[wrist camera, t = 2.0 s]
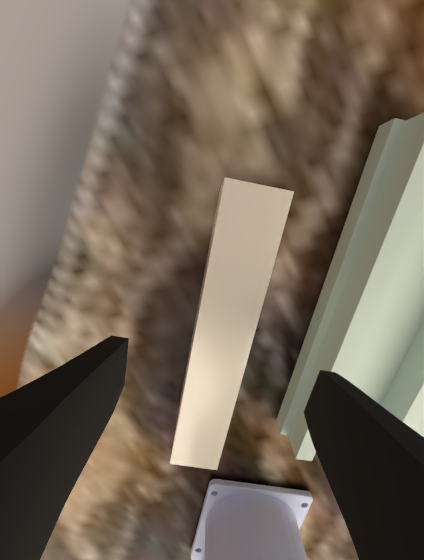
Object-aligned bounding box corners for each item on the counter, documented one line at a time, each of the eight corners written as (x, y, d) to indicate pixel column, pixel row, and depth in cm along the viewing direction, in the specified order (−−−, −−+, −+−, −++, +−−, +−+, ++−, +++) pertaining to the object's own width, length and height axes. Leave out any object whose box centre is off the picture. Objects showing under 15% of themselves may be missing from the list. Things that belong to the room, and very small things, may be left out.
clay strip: (215, 407, 16) (216, 470, 12) (179, 402, 16) (169, 463, 12) (267, 197, 12) (294, 191, 8) (220, 187, 12) (224, 176, 8)
